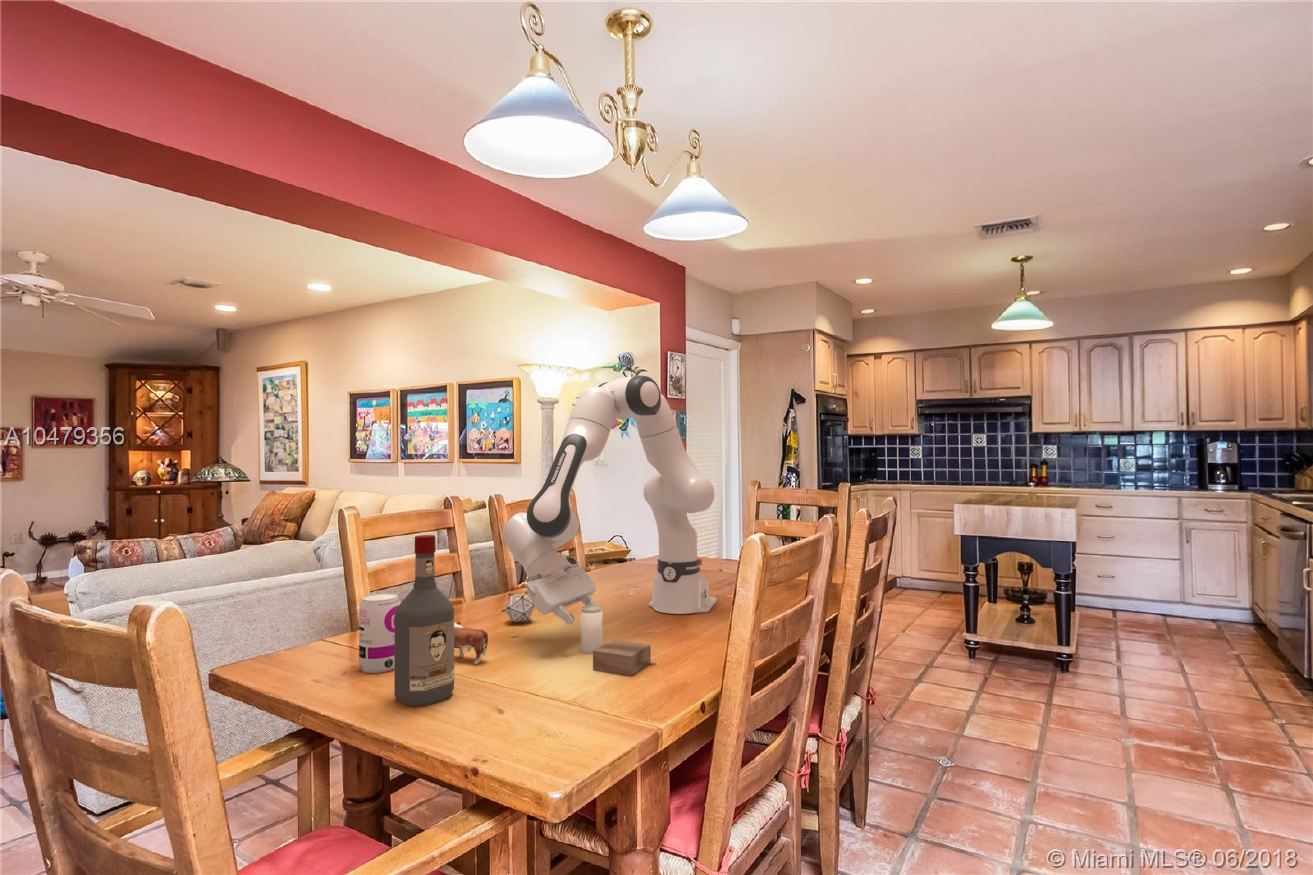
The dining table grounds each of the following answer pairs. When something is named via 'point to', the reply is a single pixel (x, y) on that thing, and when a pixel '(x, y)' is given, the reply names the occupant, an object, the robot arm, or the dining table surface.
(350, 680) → the dining table surface
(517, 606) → the game die
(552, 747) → the dining table surface
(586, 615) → the jar
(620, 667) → the plinth
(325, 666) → the dining table surface
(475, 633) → the bull figurine
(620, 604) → the dining table surface
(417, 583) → the liquor
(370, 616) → the supplement can
